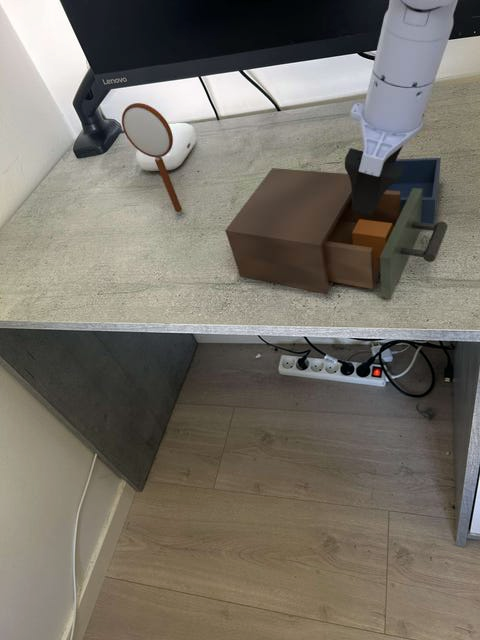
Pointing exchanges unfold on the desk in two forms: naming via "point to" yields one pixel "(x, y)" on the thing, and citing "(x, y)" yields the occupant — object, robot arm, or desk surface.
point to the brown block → (372, 235)
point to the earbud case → (180, 149)
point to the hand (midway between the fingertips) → (371, 190)
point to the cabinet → (289, 227)
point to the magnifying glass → (151, 139)
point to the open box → (420, 184)
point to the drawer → (358, 261)
